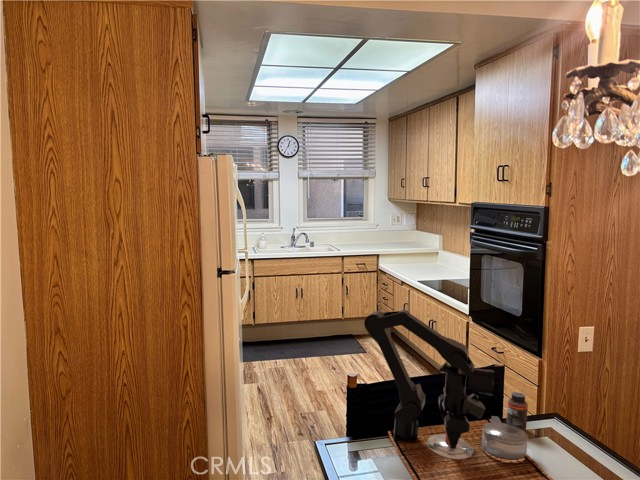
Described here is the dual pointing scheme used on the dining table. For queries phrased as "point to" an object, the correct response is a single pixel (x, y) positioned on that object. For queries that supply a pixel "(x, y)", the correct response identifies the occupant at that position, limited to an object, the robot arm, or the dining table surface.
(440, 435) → the lid
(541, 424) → the dining table surface
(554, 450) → the dining table surface
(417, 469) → the dining table surface
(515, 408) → the supplement bottle
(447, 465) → the dining table surface
